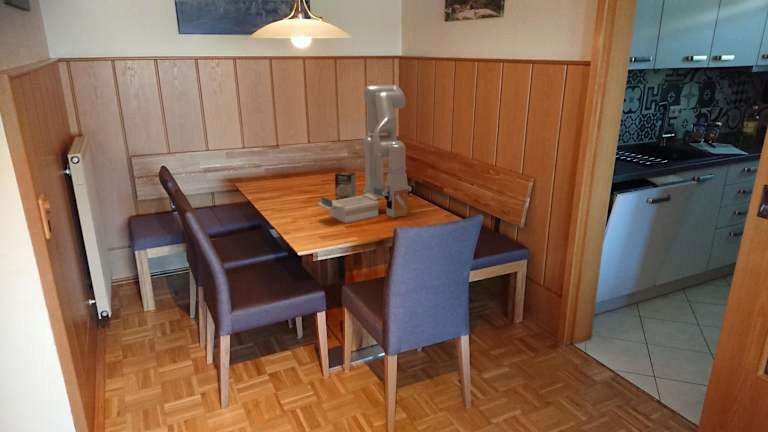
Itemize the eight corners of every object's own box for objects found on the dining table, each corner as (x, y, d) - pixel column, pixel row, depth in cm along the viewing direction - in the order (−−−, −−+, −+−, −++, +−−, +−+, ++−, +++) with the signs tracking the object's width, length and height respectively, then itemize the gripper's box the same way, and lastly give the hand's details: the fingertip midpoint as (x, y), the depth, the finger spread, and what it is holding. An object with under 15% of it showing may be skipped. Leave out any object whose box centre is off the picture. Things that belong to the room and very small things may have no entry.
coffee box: (335, 204, 260) (333, 173, 255) (340, 201, 265) (339, 171, 261) (351, 206, 257) (351, 175, 252) (356, 203, 262) (355, 172, 258)
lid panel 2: (375, 200, 239) (375, 193, 238) (361, 195, 248) (361, 188, 247) (389, 197, 244) (389, 190, 243) (376, 192, 253) (376, 185, 252)
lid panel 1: (332, 201, 238) (332, 193, 237) (344, 206, 230) (344, 198, 229) (316, 204, 234) (315, 196, 233) (328, 209, 225) (328, 202, 224)
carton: (361, 209, 252) (361, 195, 250) (378, 216, 241) (378, 201, 239) (329, 215, 241) (329, 201, 239) (345, 223, 231) (345, 208, 228)
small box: (393, 218, 238) (393, 191, 234) (386, 214, 243) (386, 188, 239) (407, 215, 242) (408, 188, 238) (400, 212, 247) (400, 185, 243)
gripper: (406, 166, 244) (406, 202, 249) (377, 171, 234) (377, 208, 239) (416, 169, 238) (416, 205, 243) (386, 174, 228) (386, 211, 233)
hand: (396, 206), depth 241 cm, fingers closed on small box, 8 cm apart
